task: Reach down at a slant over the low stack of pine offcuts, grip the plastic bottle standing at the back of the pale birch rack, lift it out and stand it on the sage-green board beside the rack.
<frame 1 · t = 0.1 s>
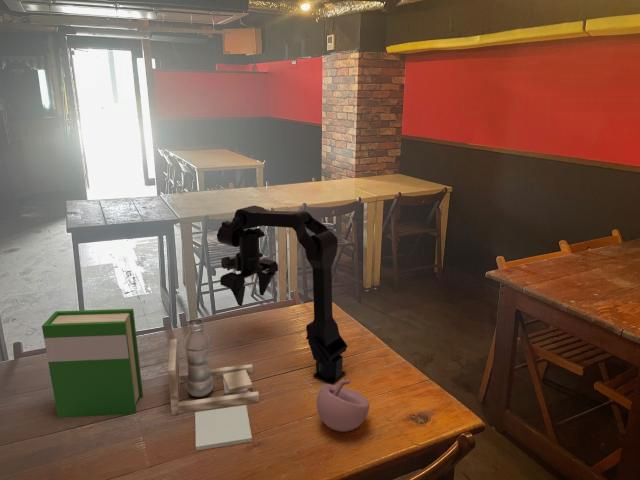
hand: (251, 300, 144), 15 cm above the table, tool pointing down, fingers open, 9 cm apart
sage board: (222, 428, 112), on the table
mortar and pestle: (342, 426, 113), on the table
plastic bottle: (200, 393, 125), resting in birch rack
birch rack: (200, 392, 125), on the table
offcut stack: (236, 389, 127), on the table
hardback book: (102, 406, 119), on the table
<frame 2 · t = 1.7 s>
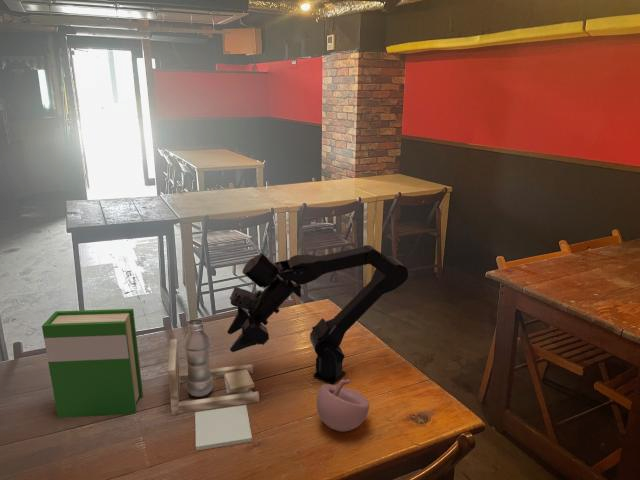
hand: (229, 341, 123), 13 cm above the table, tool tilted 45°, fingers open, 9 cm apart
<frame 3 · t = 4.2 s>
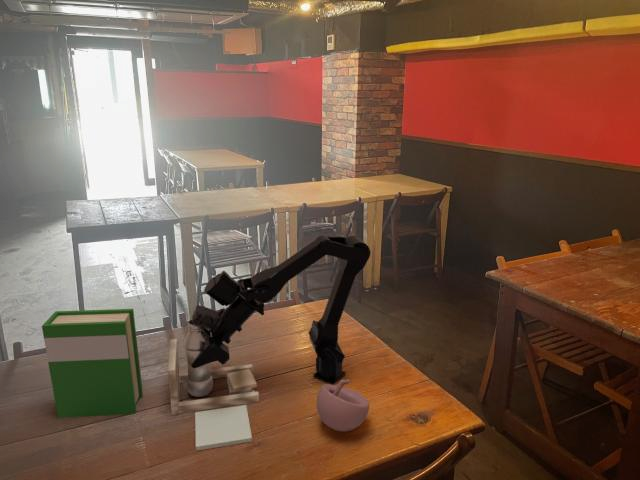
hand: (192, 360, 122), 10 cm above the table, tool tilted 45°, fingers closed on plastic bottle, 6 cm apart
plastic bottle: (200, 393, 125), resting in birch rack, touching gripper
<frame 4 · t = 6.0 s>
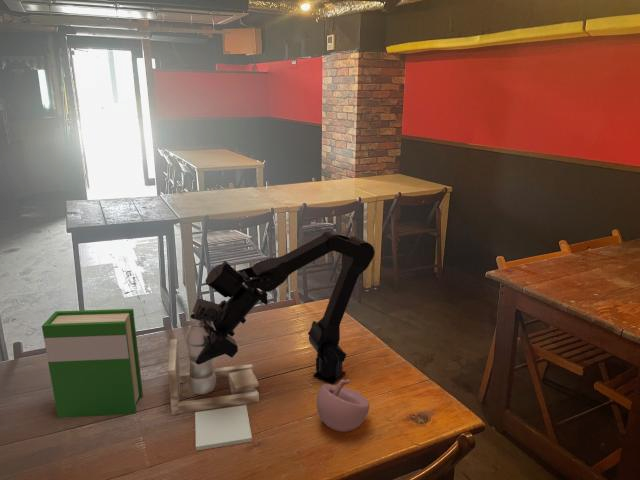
hand: (194, 356, 116), 13 cm above the table, tool tilted 45°, fingers closed on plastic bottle, 6 cm apart
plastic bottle: (203, 390, 120), point 3 cm above the table, touching gripper
when the fingers open (12 cm above the table, at t = 7.8 s): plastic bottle drops 1 cm, resting on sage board.
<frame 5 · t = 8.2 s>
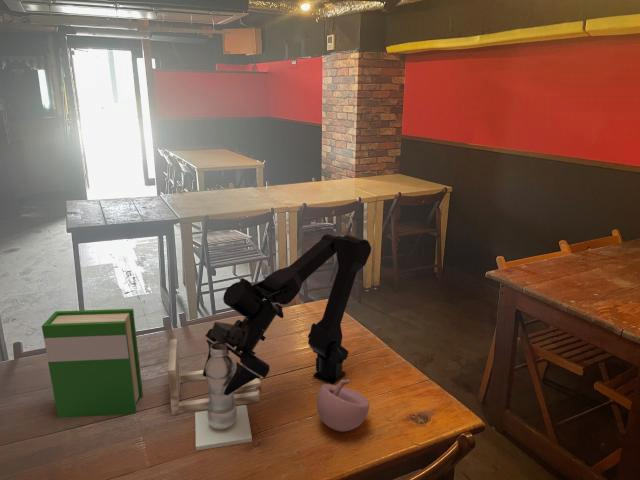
hand: (214, 385, 107), 12 cm above the table, tool tilted 45°, fingers open, 9 cm apart
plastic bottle: (222, 425, 112), point 1 cm above the table, touching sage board
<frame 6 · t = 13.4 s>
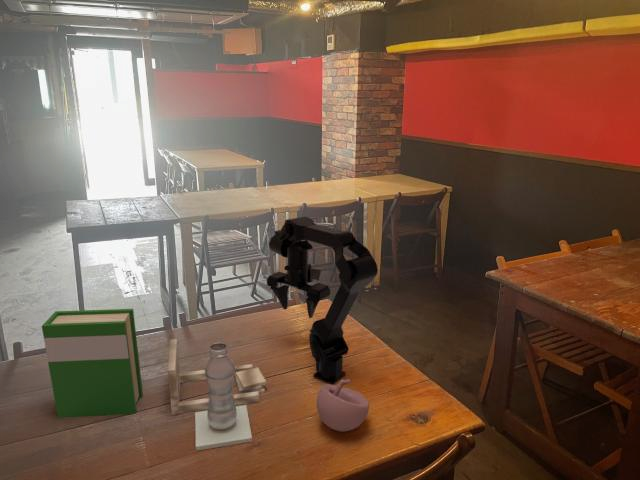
hand: (297, 313, 140), 13 cm above the table, tool pointing down, fingers open, 9 cm apart
offcut stack: (250, 386, 128), on the table
everything else where it was.
at the end: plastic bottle inside the target area on the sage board (0.1 cm from its centre), point 0.8 cm above the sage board's base; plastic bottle tilted 0°; the gripper is holding nothing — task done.
